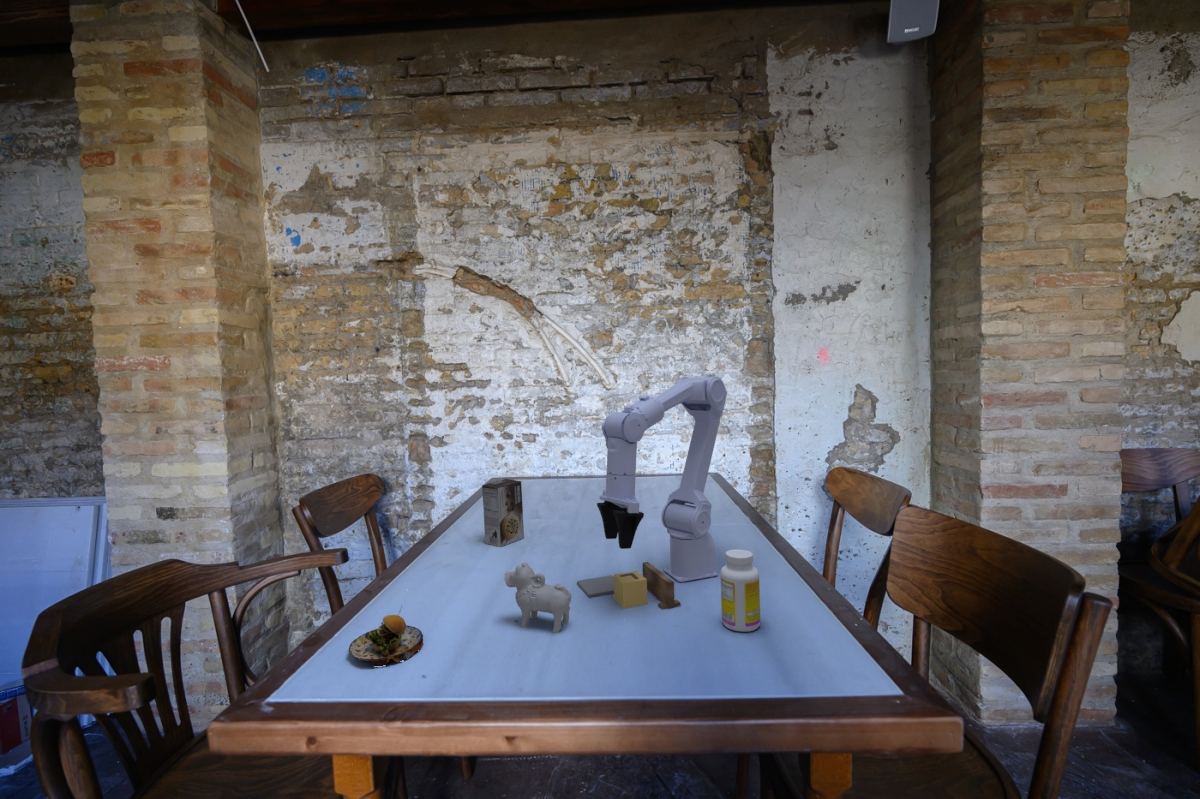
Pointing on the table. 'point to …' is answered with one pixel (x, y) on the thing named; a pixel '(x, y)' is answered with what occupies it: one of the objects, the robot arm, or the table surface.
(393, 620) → the burger
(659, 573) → the wooden board
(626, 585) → the cube
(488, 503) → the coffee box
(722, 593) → the supplement bottle
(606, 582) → the coaster
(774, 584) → the table surface
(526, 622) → the dog figurine
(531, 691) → the table surface
